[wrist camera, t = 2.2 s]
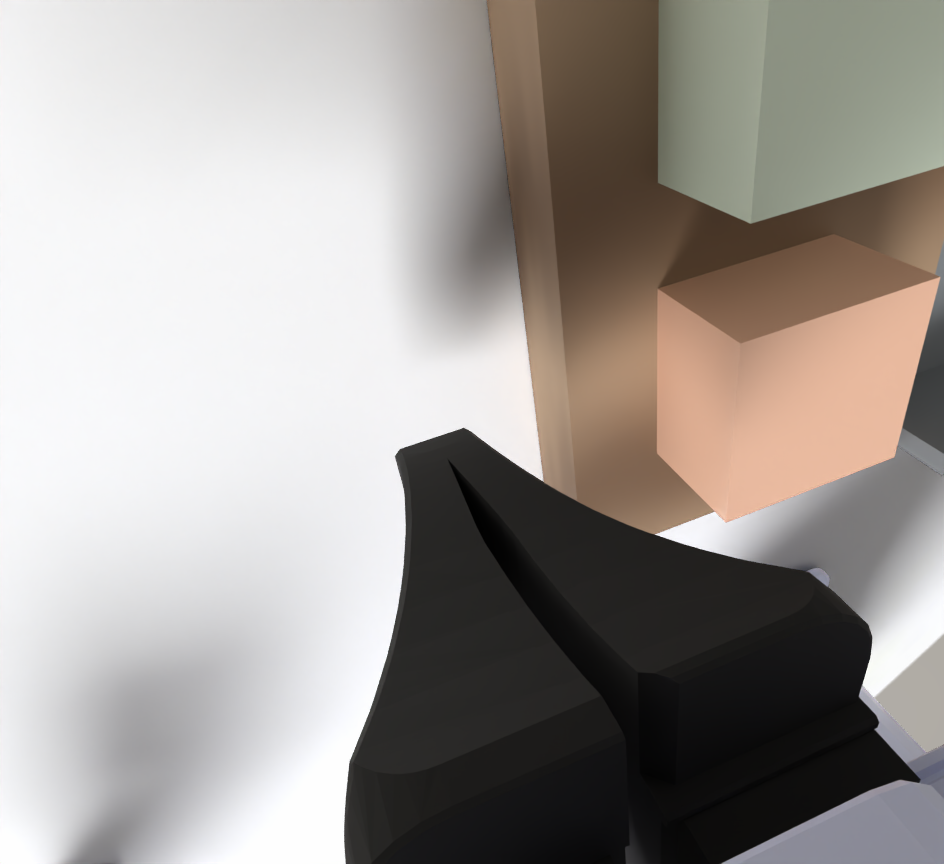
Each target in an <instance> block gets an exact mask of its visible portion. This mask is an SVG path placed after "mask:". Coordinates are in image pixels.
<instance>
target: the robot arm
mask: <svg viewBox="0 0 944 864" xmlns="http://www.w3.org/2000/svg"><path fill="white" fill-rule="evenodd" d="M395 458H396V462H397V466H398V469H399V473H400V477H401V480H402V484H403V488H404V494H405V515H406V537H405V554H404V568H403V577H402V585H401V592H400V598H399V605H398V610H397V615H396V620H395V625H394V629H393V634H392V639H391V643H390V647H389V651H388V655H387V659H386V662H385V665H384V668H383V672H382V675H381V678H380V681H379V685H378V688H377V691H376V694H375V698H374V701H373V704H372V706H371V709H370V712H369V715H368V717H367V720H366V722H365V725H364V727H363V730H362V732H361V735H360V737H359V740H358V742H357V745H356V747H355V750H354V752H353V755H352V757H351V760H350V763H349V772H348V782H347V792H346V805H345V822H344V844H345V858H346V864H944V745H942V746H940V747H938V748H936V749H934V750H931V751H929V752H926V751H925V750H924V749H923V748H922V747H921V746H920V745H919V744H918V743H917V742H916V741H915V740H914V739H913V738H912V737H911V736H910V735H909V734H908V733H907V732H906V731H905V729H903V727H902V726H901V725H900V724H899V723H898V722H897V721H896V720H895V719H894V718H893V717H892V716H891V715H890V714H889V713H888V712H887V711H886V710H885V709H884V708H883V707H882V706H881V705H880V703H879V702H877V700H876V699H875V698H874V697H873V696H872V695H871V694H870V693H869V692H868V691H867V690H866V689H865V688H864V687H863V686H862V684H863V680H864V677H865V674H866V670H867V667H868V663H869V660H870V655H871V647H872V635H871V632H870V629H869V626H868V624H867V623H866V622H865V621H864V620H863V619H862V618H861V617H860V616H859V615H857V614H856V613H855V612H854V611H853V610H852V609H851V608H850V607H849V606H848V605H847V604H846V603H845V602H844V601H843V600H842V599H841V598H840V597H839V596H838V595H837V594H836V593H834V592H833V591H832V590H831V589H830V588H828V586H829V581H830V577H829V575H828V574H827V573H826V572H824V571H823V570H822V569H821V568H813V569H810V570H808V571H800V570H795V569H789V568H784V567H778V566H773V565H767V564H762V563H756V562H751V561H746V560H741V559H737V558H733V557H729V556H725V555H721V554H717V553H713V552H709V551H705V550H701V549H698V548H695V547H691V546H688V545H684V544H681V543H678V542H675V541H672V540H669V539H666V538H663V537H660V536H657V535H654V534H651V533H648V532H645V531H643V530H640V529H637V528H635V527H632V526H630V525H627V524H625V523H622V522H620V521H618V520H615V519H613V518H611V517H609V516H606V515H604V514H602V513H600V512H598V511H595V510H593V509H591V508H589V507H587V506H585V505H584V504H582V503H580V502H578V501H576V500H574V499H572V498H570V497H569V496H567V495H565V494H563V493H561V492H560V491H558V490H556V489H554V488H553V487H551V486H549V485H548V484H546V483H544V482H543V481H541V480H539V479H538V478H536V477H535V476H533V475H532V474H530V473H528V472H527V471H525V470H524V469H522V468H521V467H519V466H518V465H516V464H515V463H513V462H512V461H510V460H509V459H507V458H506V457H504V456H503V455H502V454H500V453H499V452H497V451H496V450H495V449H493V448H492V447H490V446H489V445H488V444H486V443H485V442H484V441H482V440H481V439H480V438H478V437H477V436H476V435H475V434H473V433H472V432H471V431H469V430H467V429H465V428H462V429H459V430H456V431H453V432H450V433H447V434H444V435H441V436H438V437H435V438H432V439H429V440H426V441H423V442H420V443H417V444H414V445H411V446H408V447H405V448H402V449H400V450H399V451H398V453H397V454H396V456H395Z"/></svg>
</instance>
